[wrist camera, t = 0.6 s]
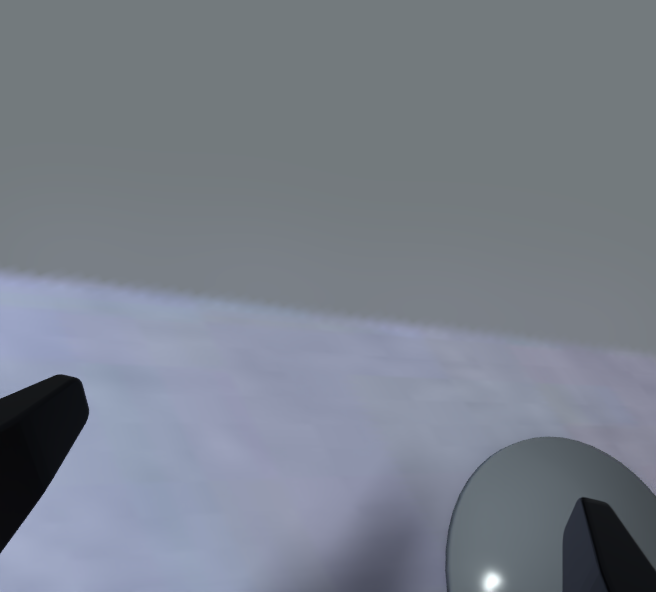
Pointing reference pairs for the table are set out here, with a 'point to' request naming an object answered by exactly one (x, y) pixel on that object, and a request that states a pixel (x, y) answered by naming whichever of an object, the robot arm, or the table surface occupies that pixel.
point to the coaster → (537, 514)
